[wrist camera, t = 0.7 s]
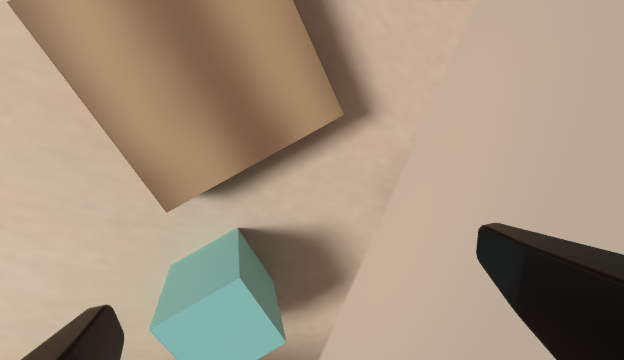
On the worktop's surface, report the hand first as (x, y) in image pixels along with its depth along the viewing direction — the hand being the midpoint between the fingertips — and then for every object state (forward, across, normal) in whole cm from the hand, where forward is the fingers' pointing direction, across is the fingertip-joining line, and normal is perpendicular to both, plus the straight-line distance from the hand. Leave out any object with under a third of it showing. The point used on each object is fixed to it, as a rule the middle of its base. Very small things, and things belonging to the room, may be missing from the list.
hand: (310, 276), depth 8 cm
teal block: (+13, +5, +8) cm, 16 cm away
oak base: (+14, +3, -5) cm, 15 cm away
